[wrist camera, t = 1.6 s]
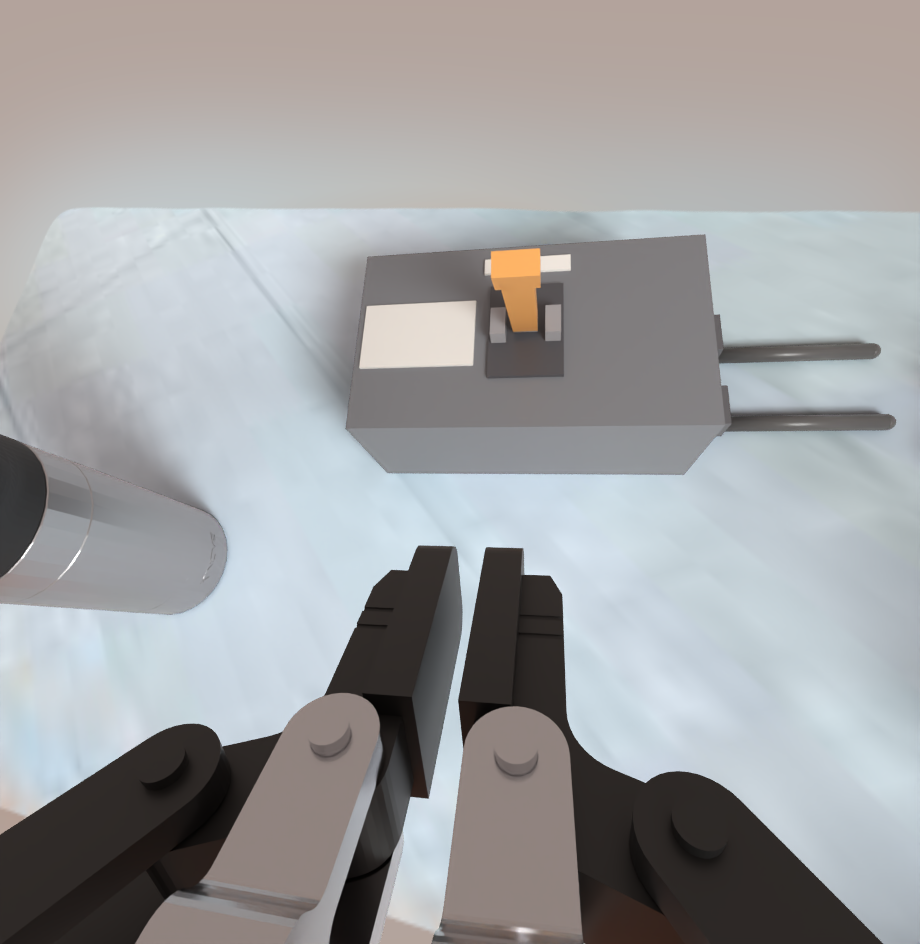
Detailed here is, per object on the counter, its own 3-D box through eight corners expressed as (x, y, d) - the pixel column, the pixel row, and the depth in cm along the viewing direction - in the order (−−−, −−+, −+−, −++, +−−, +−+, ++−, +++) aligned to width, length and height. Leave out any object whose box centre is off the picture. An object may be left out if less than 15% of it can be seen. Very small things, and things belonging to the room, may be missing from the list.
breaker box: (387, 473, 45) (337, 420, 34) (402, 330, 49) (361, 243, 38) (900, 475, 38) (1038, 411, 27) (866, 311, 42) (974, 200, 32)
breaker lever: (509, 334, 35) (491, 278, 24) (509, 316, 35) (491, 251, 24) (542, 333, 35) (540, 275, 23) (542, 315, 35) (540, 248, 23)
